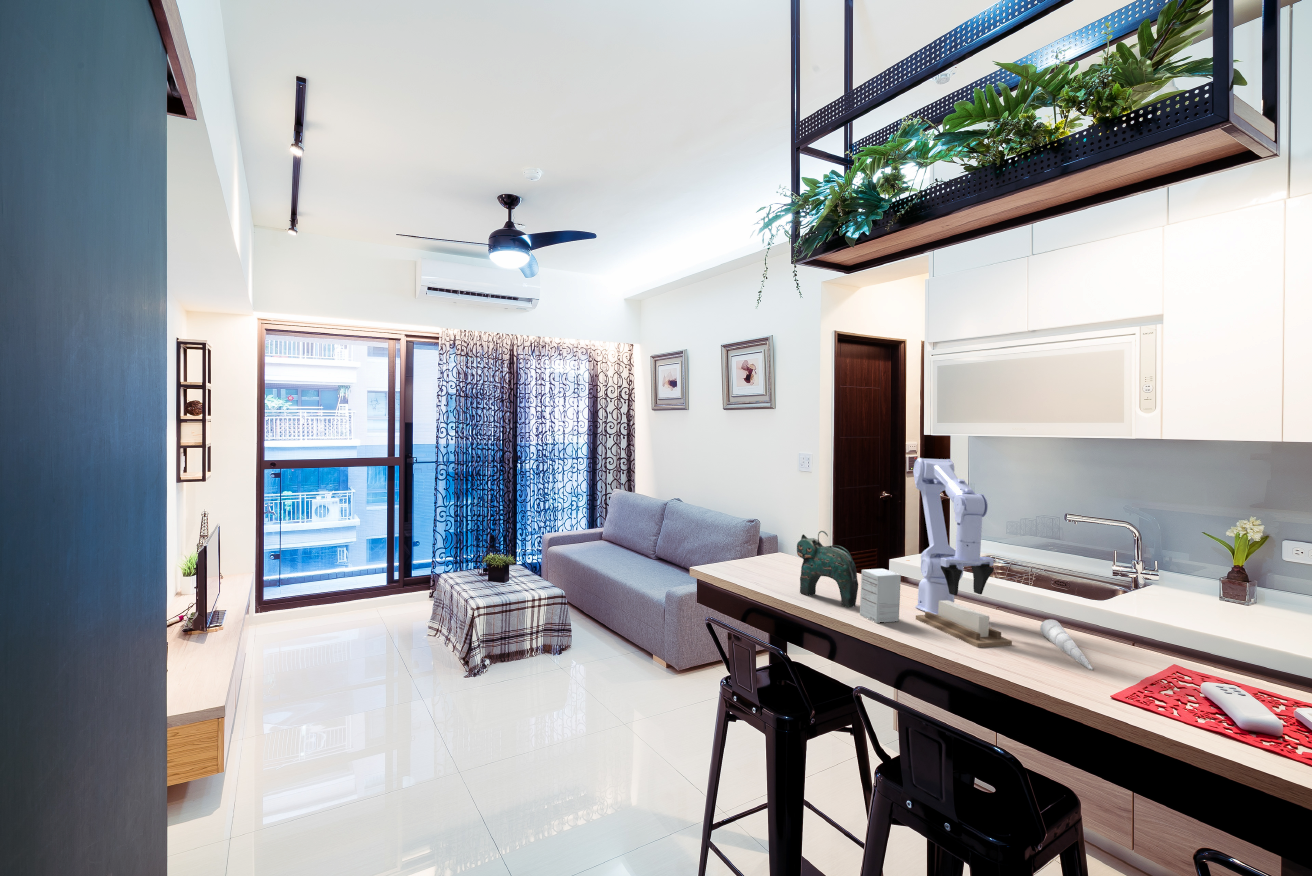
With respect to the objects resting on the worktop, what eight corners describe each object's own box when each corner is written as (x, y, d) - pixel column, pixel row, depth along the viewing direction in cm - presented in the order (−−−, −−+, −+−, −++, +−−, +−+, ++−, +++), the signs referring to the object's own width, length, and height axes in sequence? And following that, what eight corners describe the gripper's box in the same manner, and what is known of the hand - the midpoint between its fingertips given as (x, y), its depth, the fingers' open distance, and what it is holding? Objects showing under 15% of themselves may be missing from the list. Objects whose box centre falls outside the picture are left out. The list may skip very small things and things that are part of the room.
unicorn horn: (1072, 669, 139) (1073, 647, 139) (1038, 636, 162) (1039, 617, 162) (1097, 672, 138) (1098, 650, 138) (1060, 638, 161) (1060, 619, 161)
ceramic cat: (792, 592, 194) (795, 527, 194) (806, 589, 198) (809, 525, 198) (848, 609, 179) (851, 538, 178) (862, 605, 183) (865, 536, 182)
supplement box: (881, 613, 176) (883, 567, 175) (899, 621, 169) (902, 574, 168) (858, 615, 173) (860, 568, 173) (876, 623, 166) (878, 575, 166)
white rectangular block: (937, 619, 169) (938, 600, 168) (947, 618, 169) (948, 600, 169) (978, 637, 155) (979, 616, 155) (988, 636, 156) (989, 616, 156)
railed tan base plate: (915, 618, 172) (916, 609, 172) (946, 617, 175) (947, 608, 174) (977, 647, 151) (978, 636, 151) (1011, 644, 153) (1012, 634, 153)
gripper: (955, 544, 157) (952, 599, 158) (1004, 543, 161) (1001, 597, 161) (936, 539, 164) (933, 591, 164) (982, 538, 168) (980, 589, 168)
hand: (965, 593), depth 163 cm, fingers open, 7 cm apart
